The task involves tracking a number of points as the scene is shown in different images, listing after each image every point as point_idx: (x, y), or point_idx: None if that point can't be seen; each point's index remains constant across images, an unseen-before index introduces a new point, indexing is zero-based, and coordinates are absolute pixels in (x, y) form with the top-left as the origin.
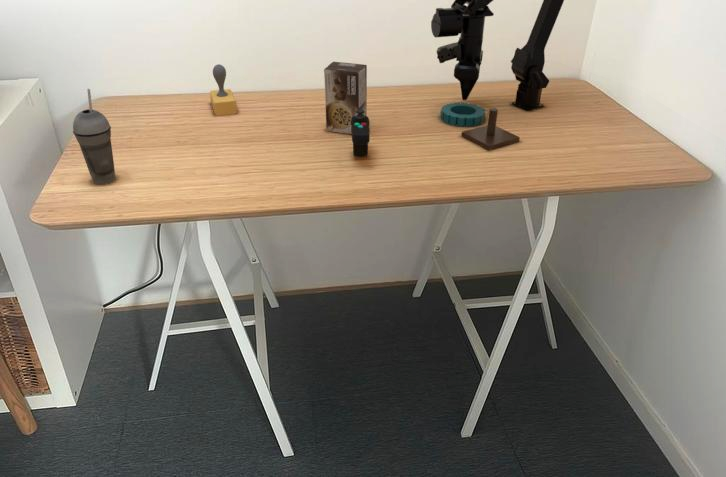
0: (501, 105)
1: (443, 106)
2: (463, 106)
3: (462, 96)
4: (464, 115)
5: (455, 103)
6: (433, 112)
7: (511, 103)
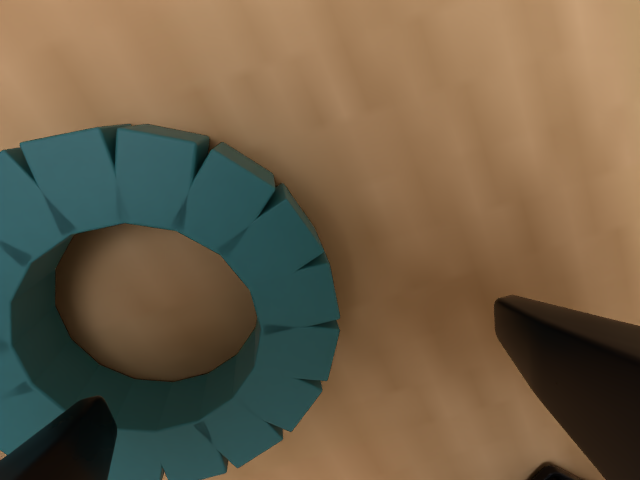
0: (514, 425)
1: (120, 138)
2: (255, 301)
3: (44, 434)
4: (13, 388)
5: (272, 224)
6: (169, 24)
7: (547, 467)
